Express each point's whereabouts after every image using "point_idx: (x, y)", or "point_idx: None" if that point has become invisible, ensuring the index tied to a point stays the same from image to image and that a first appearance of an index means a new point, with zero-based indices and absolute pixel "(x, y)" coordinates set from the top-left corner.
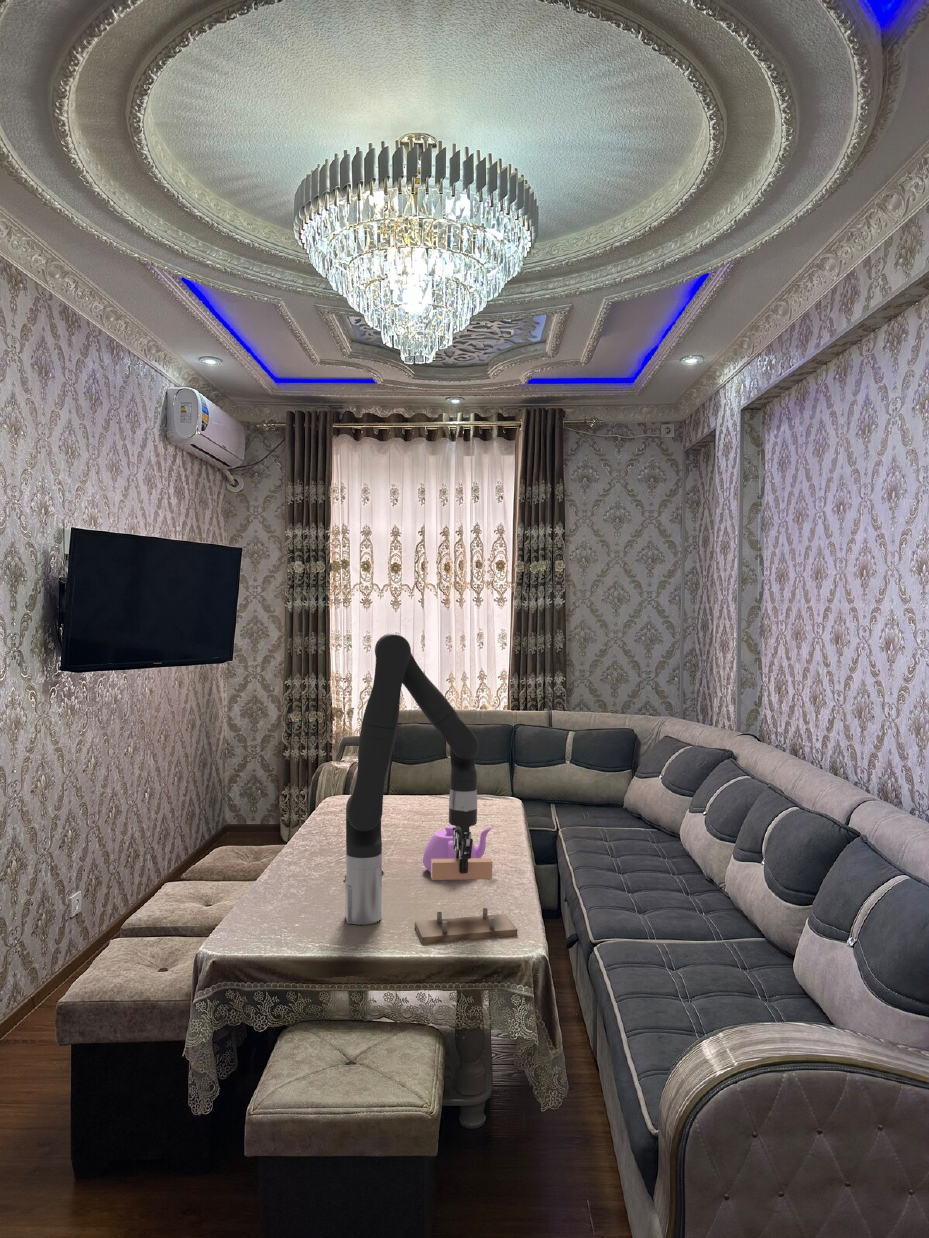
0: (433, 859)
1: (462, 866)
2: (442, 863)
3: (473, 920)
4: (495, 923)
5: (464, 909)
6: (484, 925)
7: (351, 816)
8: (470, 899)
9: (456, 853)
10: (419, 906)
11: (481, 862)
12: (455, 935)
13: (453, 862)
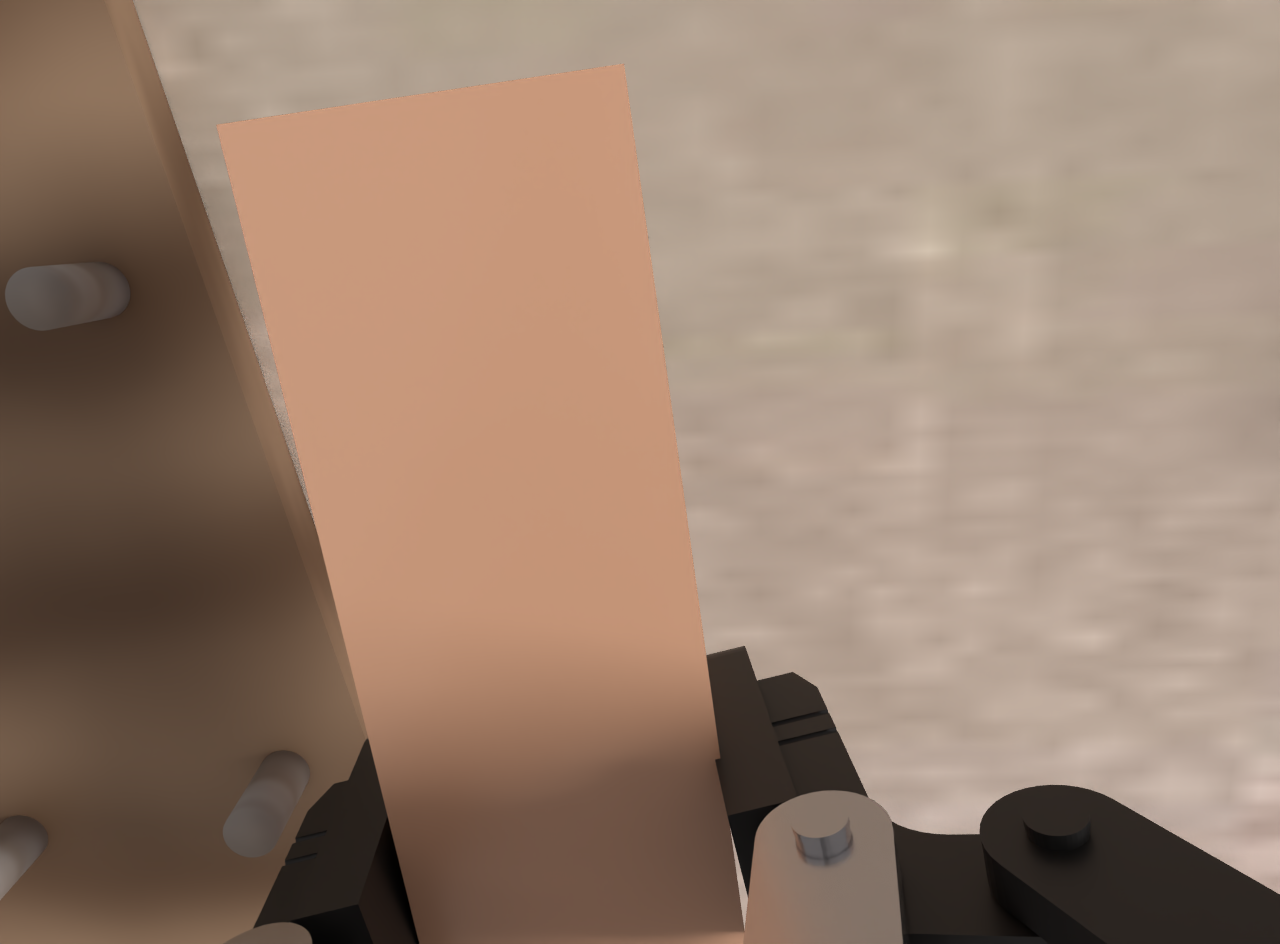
0: (564, 143)
1: (286, 872)
2: (298, 422)
3: (215, 659)
4: (156, 867)
5: (722, 534)
6: (82, 768)
7: None
8: (1028, 588)
9: (768, 832)
10: (826, 3)
11: None
12: None
13: (362, 706)
